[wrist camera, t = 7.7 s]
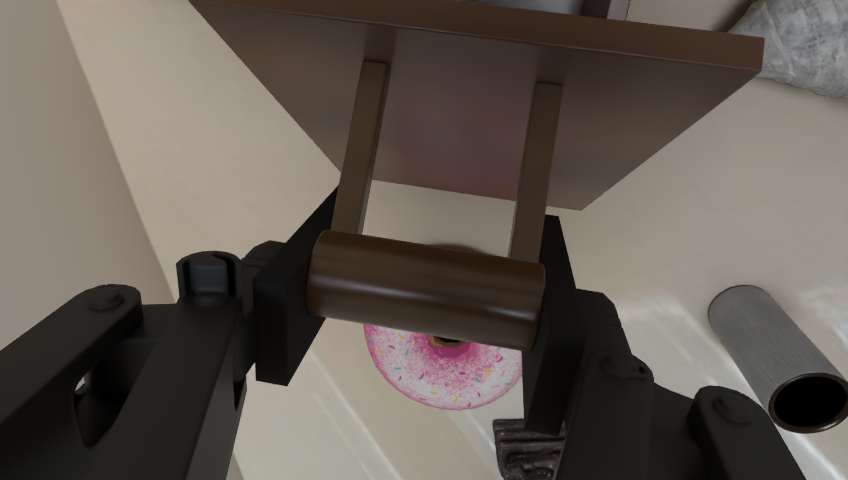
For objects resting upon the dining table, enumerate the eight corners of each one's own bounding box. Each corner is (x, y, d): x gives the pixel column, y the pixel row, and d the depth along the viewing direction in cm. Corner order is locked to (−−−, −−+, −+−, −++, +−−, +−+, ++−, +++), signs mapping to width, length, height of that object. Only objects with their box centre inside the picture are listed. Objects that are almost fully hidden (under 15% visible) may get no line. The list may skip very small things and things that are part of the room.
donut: (523, 391, 46) (524, 433, 41) (372, 371, 47) (358, 410, 43) (544, 250, 40) (549, 281, 36) (372, 233, 42) (356, 261, 37)
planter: (704, 291, 40) (766, 379, 30) (771, 279, 38) (856, 367, 29) (710, 340, 41) (770, 439, 32) (774, 330, 40) (856, 429, 31)
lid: (193, -32, 12) (120, 288, 11) (766, 36, 11) (731, 395, 10) (345, 161, 29) (320, 298, 28) (583, 196, 28) (563, 339, 27)
